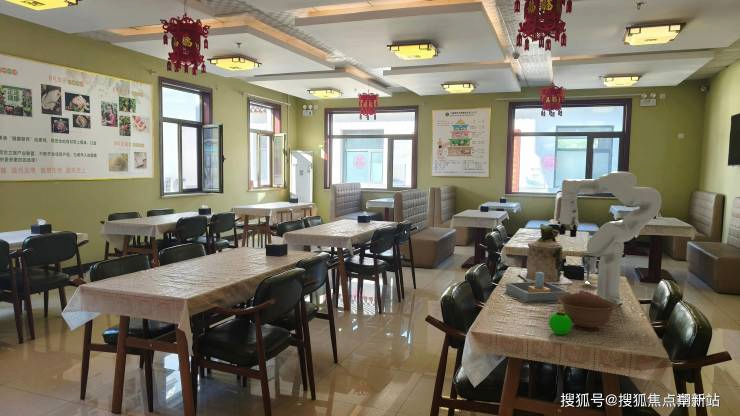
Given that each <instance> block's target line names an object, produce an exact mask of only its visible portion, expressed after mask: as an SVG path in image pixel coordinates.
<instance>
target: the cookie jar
mask: <svg viewBox="0 0 740 416" xmlns="http://www.w3.org/2000/svg"><path fill="white" fill-rule="evenodd" d="M539 228H540V236H541V237H540V238H537V240H534V241H530V242H528V243H527V246H528V253H527V258H526V271H522V270H521V271H520V270H519V271H517V273H518V276H520V277H521V278H523V279H524V280H525V282H535V278H536V272H543V273H544V282H548V283H550V284H552V285H565V286H566V285H567V286H569V285H572V284H573V281H572V280H570V279H568V278H567V277H565V276H564V275H562V272H561V265H562V262H563V248H564V247H563V245H562V244H560V243H559V242H558V241H557V239H556V237H558V234H559V230H557V229H553V227H552V226H550V225H545V224H544V223H540V225H539Z"/></svg>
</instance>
